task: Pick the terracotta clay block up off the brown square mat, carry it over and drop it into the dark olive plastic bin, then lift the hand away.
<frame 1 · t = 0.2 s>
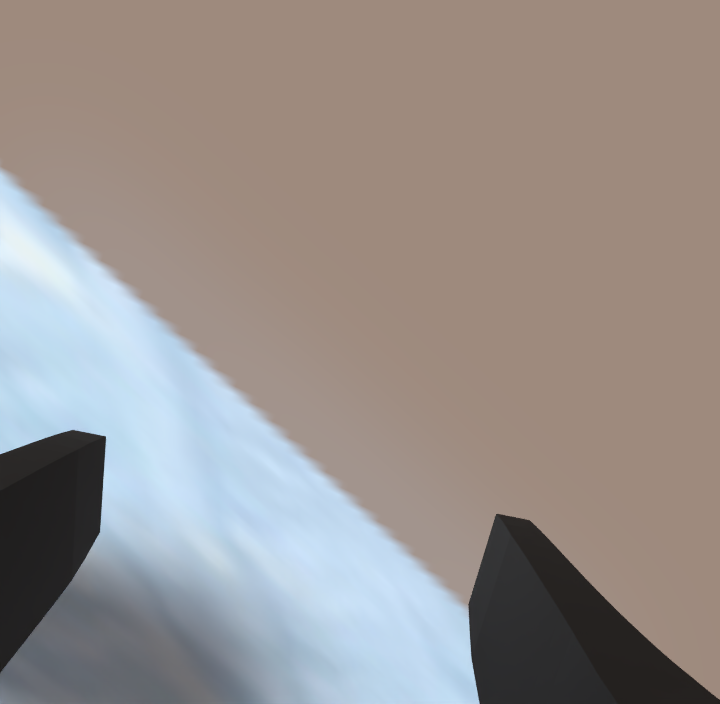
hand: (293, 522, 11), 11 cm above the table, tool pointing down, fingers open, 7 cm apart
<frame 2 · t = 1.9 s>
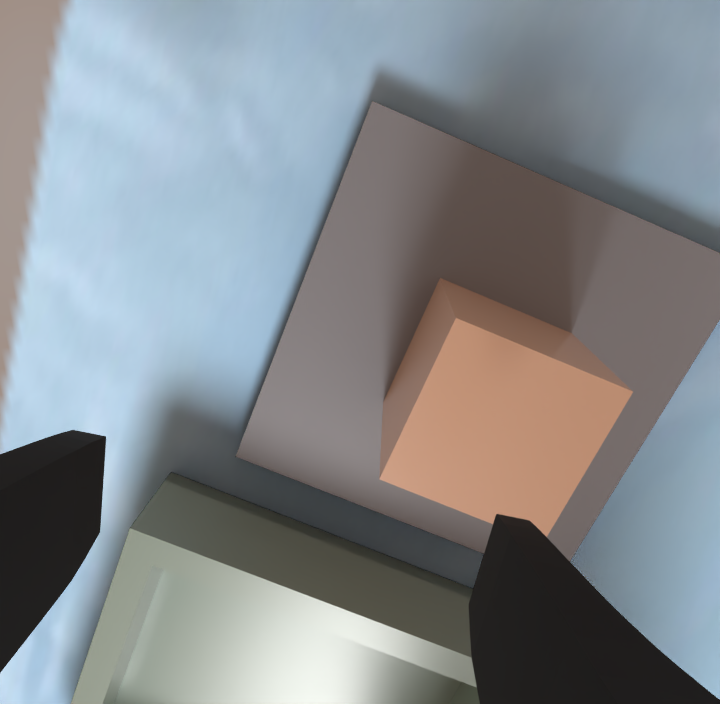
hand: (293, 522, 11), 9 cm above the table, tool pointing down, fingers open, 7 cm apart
olive bin: (286, 679, 24), on the table
clay block: (474, 368, 19), point 1 cm above the table, touching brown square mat
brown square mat: (471, 360, 20), on the table
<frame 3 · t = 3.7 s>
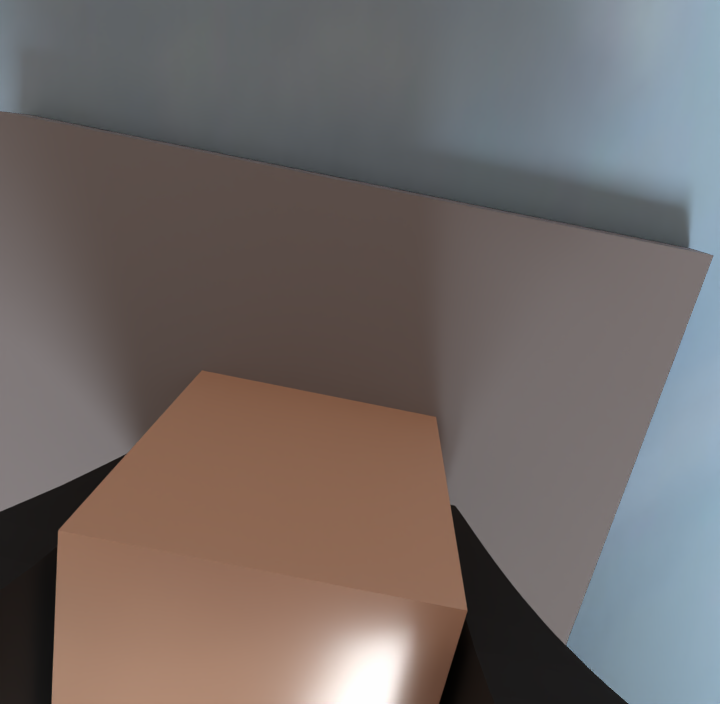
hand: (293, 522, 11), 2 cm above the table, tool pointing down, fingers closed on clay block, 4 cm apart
clay block: (300, 495, 12), point 1 cm above the table, touching gripper, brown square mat
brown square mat: (305, 475, 13), on the table
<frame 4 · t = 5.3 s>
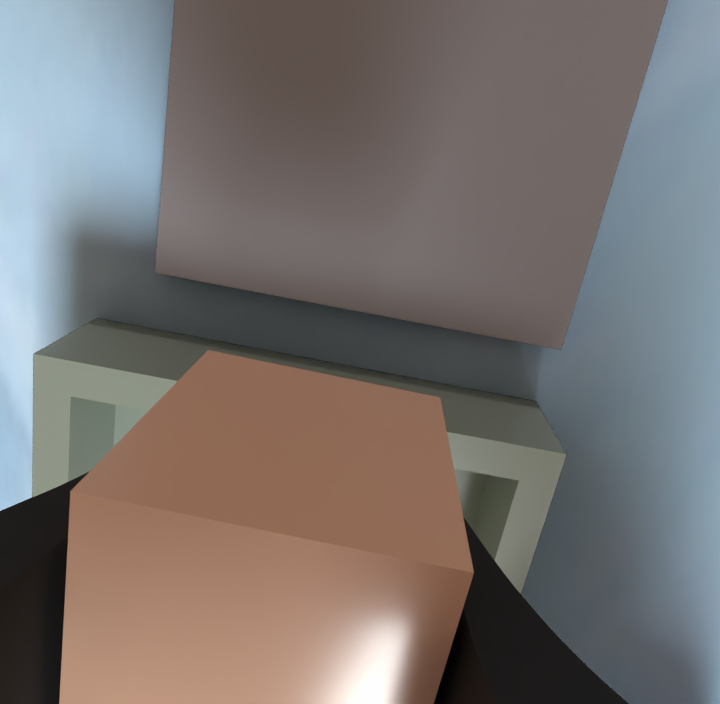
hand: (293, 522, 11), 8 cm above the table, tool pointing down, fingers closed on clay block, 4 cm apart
olive bin: (285, 545, 21), on the table
clay block: (304, 476, 12), point 7 cm above the table, touching gripper
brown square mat: (399, 93, 16), on the table
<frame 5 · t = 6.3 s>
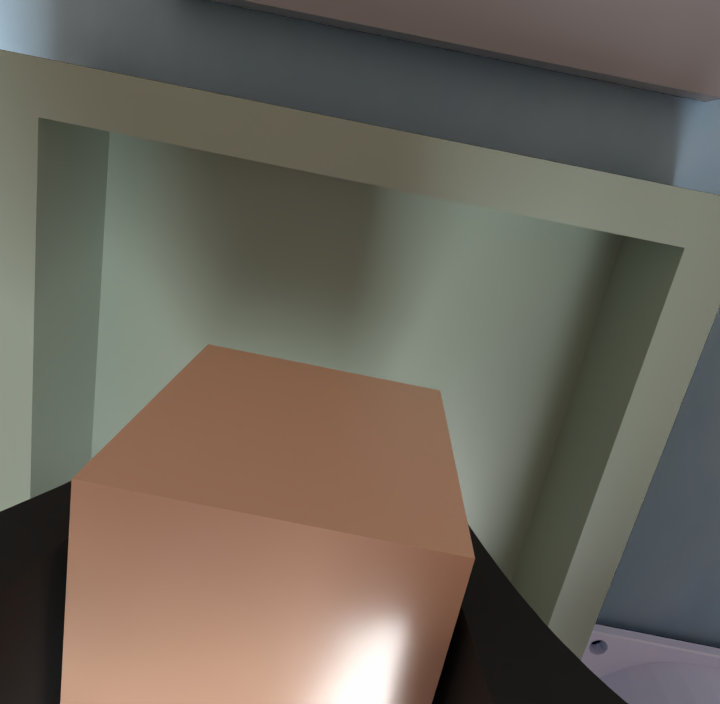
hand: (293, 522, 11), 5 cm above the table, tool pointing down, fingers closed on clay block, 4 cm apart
olive bin: (326, 405, 16), on the table
clay block: (305, 470, 12), point 4 cm above the table, touching gripper
when the fingers open (4 cm above the table, at t = 7.0 s): clay block drops 3 cm, resting on olive bin.
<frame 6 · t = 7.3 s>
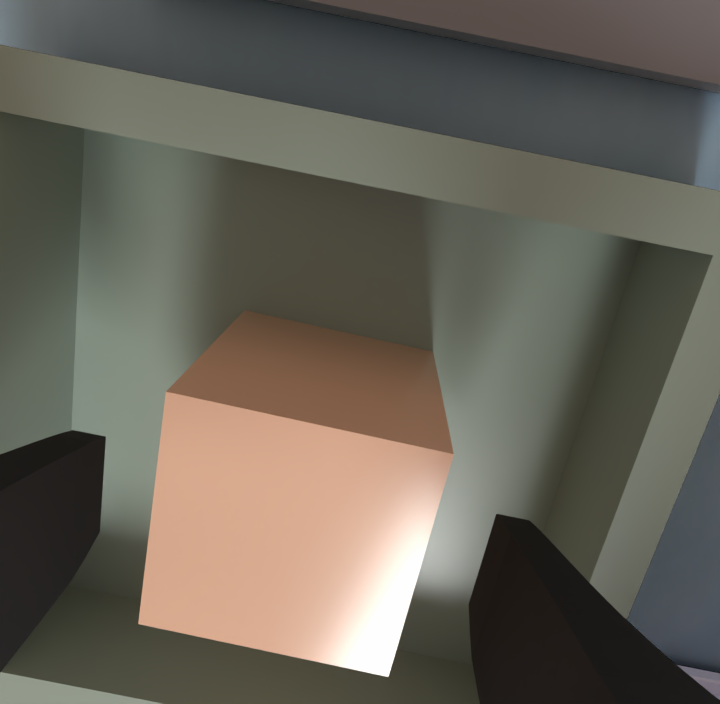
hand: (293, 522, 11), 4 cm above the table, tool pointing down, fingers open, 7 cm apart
olive bin: (320, 421, 15), on the table
clay block: (321, 417, 14), point 1 cm above the table, touching olive bin
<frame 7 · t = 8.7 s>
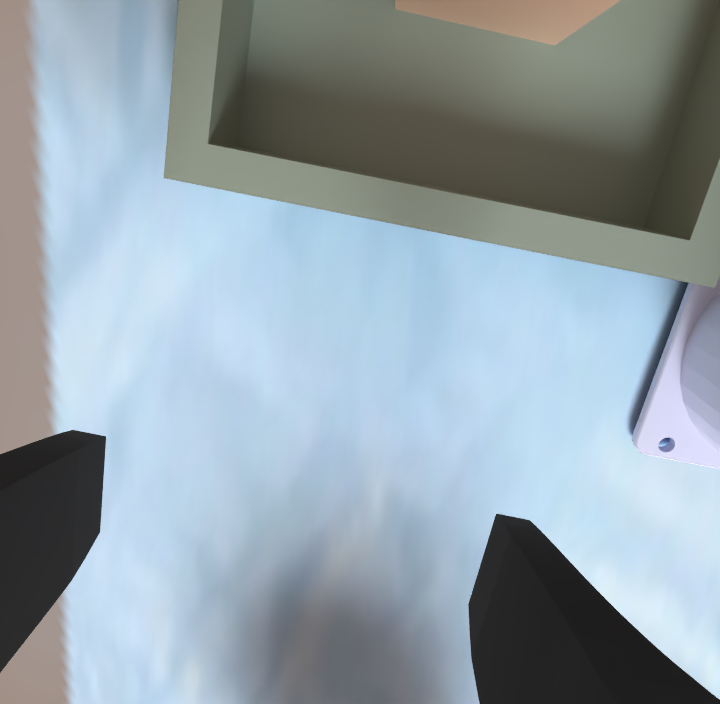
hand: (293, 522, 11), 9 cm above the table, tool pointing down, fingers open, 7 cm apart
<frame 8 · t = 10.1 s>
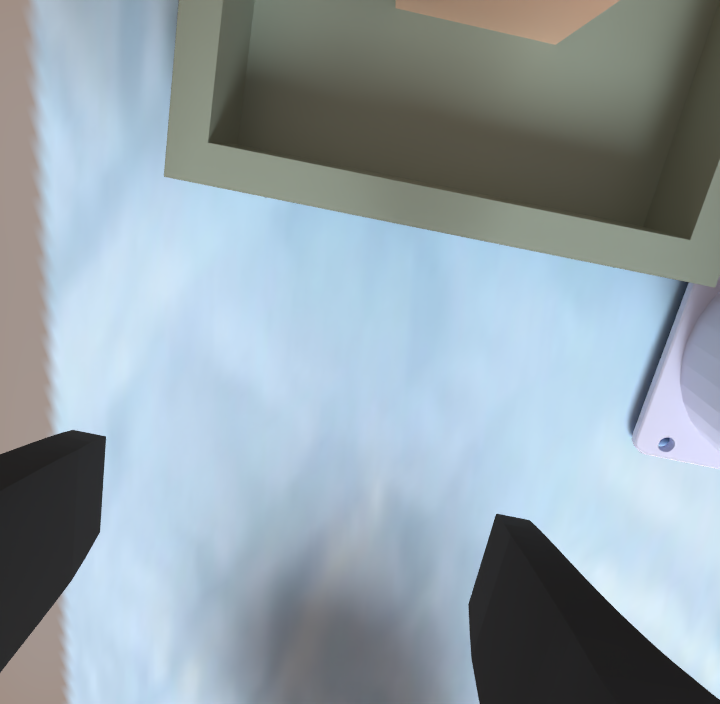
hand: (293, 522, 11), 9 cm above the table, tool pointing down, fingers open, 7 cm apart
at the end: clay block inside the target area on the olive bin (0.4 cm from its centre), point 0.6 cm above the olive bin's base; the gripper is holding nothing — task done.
